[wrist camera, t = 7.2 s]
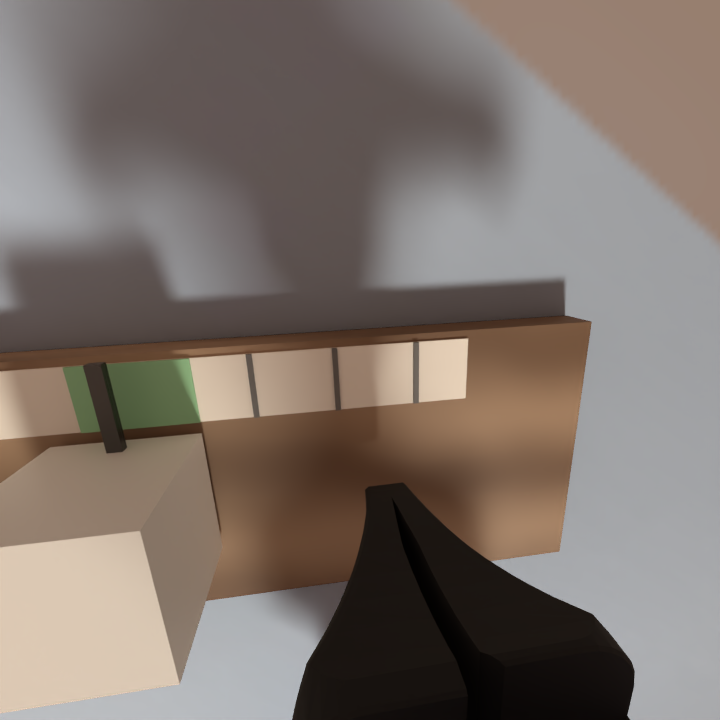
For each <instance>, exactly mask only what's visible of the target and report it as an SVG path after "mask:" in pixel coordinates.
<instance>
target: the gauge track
mask: <svg viewBox="0 0 720 720" xmlns="http://www.w3.org/2000/svg"><path fill="white" fill-rule="evenodd" d="M590 329H591V321H586V320H582V319H578V318H574V317H570V316H552V317H537V318H522V319H507V320H492V321H476V322H461V323H446V324H431V325H416V326H401V327H386V328H370V329H355V330H340V331H325V332H310V333H295V334H280V335H264V336H249V337H234V338H219V339H204V340H189V341H173V342H158V343H143V344H128V345H113V346H98V347H83V348H67V349H52V350H37V351H22V352H7V353H0V483H1V482H3V481H4V480H6V479H7V478H8V477H10V476H11V475H12V474H14V473H15V472H17V471H18V470H19V469H21V468H22V467H23V466H25V465H26V464H28V463H29V462H30V461H32V460H33V459H34V458H36V457H37V456H39V455H40V454H41V453H43V452H44V451H45V450H47V449H48V448H50V447H58V446H69V445H80V444H91V443H102V442H103V439H102V435H101V432H100V428H99V424H98V420H97V417H96V413H95V409H94V406H93V402H92V398H91V395H90V391H89V387H88V383H87V380H86V376H85V372H84V369H83V365H86V364H88V363H96V362H106V365H107V369H108V373H109V377H110V381H111V385H112V389H113V393H114V397H115V401H116V405H117V409H118V413H119V417H120V421H121V425H122V429H123V433H124V437H125V440H134V439H145V438H156V437H166V436H177V435H188V434H199V433H202V438H203V443H204V449H205V454H206V460H207V465H208V471H209V476H210V482H211V487H212V492H213V498H214V503H215V509H216V514H217V520H218V525H219V531H220V536H221V542H222V550H221V554H220V557H219V560H218V563H217V566H216V570H215V573H214V576H213V579H212V582H211V586H210V589H209V592H208V595H207V598H206V601H208V600H215V599H222V598H229V597H236V596H244V595H251V594H258V593H265V592H272V591H279V590H286V589H294V588H301V587H308V586H315V585H322V584H329V583H337V582H344V581H349V579H350V576H351V574H352V571H353V568H354V565H355V561H356V558H357V555H358V551H359V547H360V543H361V539H362V535H363V530H364V523H365V517H366V498H365V489H366V488H367V487H369V486H377V485H385V484H393V483H401V482H403V483H404V484H406V485H407V487H408V488H409V489H410V490H411V491H412V492H413V493H414V495H415V496H416V497H417V498H418V499H419V500H420V501H421V502H422V503H423V504H424V505H425V506H426V508H427V509H428V510H429V511H430V512H431V513H432V514H433V515H435V516H436V517H437V518H438V519H439V520H440V521H441V522H442V523H443V524H444V525H445V526H446V527H447V528H448V529H449V530H450V531H452V532H453V533H454V534H455V535H456V536H457V537H459V538H460V539H461V540H462V541H463V542H465V543H466V544H467V545H468V546H470V547H471V548H472V549H474V550H475V551H476V552H478V553H479V554H481V555H482V556H483V557H485V558H486V559H488V560H489V561H494V560H501V559H508V558H515V557H522V556H530V555H537V554H544V553H551V552H558V551H559V550H560V543H561V536H562V529H563V521H564V514H565V507H566V500H567V493H568V486H569V479H570V472H571V464H572V457H573V450H574V443H575V436H576V429H577V422H578V415H579V407H580V400H581V393H582V386H583V379H584V372H585V365H586V358H587V351H588V343H589V336H590Z"/></svg>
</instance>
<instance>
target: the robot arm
mask: <svg viewBox="0 0 720 720" xmlns="http://www.w3.org/2000/svg"><path fill="white" fill-rule="evenodd" d="M365 498H366V517H365V523H364V530H363V535H362V539H361V543H360V547H359V551H358V555H357V558H356V561H355V565H354V568H353V571H352V574H351V576H350V579H349V582H348V584H347V587H346V589H345V592H344V594H343V597H342V599H341V601H340V603H339V606H338V608H337V610H336V612H335V614H334V616H333V618H332V620H331V622H330V624H329V626H328V628H327V630H326V632H325V633H324V635H323V637H322V639H321V640H320V642H319V644H318V645H317V647H316V649H315V650H314V652H313V654H312V655H311V657H310V659H309V660H308V662H307V664H306V668H305V671H304V675H303V678H302V682H301V685H300V689H299V693H298V696H297V700H296V705H295V709H294V714H293V719H292V720H630V719H629V718H628V716H627V714H628V710H629V705H630V701H631V697H632V692H633V688H634V673H635V671H634V668H633V665H632V662H631V660H630V659H629V658H628V656H627V655H626V654H625V653H624V651H623V650H622V649H621V647H620V646H619V645H618V644H617V642H616V641H615V640H614V638H613V637H612V636H611V635H610V633H609V632H608V631H607V630H606V629H605V628H604V627H603V625H602V624H601V623H600V622H599V621H598V620H597V619H596V618H595V616H594V615H593V614H591V613H589V612H586V611H584V610H582V609H580V608H577V607H575V606H573V605H570V604H568V603H566V602H564V601H561V600H559V599H557V598H554V597H552V596H550V595H548V594H546V593H544V592H543V591H541V590H539V589H537V588H535V587H533V586H531V585H529V584H527V583H525V582H524V581H522V580H520V579H518V578H516V577H515V576H513V575H511V574H510V573H508V572H506V571H505V570H503V569H502V568H500V567H498V566H497V565H495V564H494V563H492V562H491V561H489V560H488V559H486V558H485V557H483V556H482V555H481V554H479V553H478V552H476V551H475V550H474V549H472V548H471V547H470V546H468V545H467V544H466V543H465V542H463V541H462V540H461V539H460V538H459V537H457V536H456V535H455V534H454V533H453V532H452V531H450V530H449V529H448V528H447V527H446V526H445V525H444V524H443V523H442V522H441V521H440V520H439V519H438V518H437V517H436V516H435V515H433V514H432V513H431V512H430V511H429V510H428V509H427V508H426V506H425V505H424V504H423V503H422V502H421V501H420V500H419V499H418V498H417V497H416V496H415V495H414V493H413V492H412V491H411V490H410V489H409V488H408V487H407V485H406V484H404V483H403V482H401V483H393V484H385V485H377V486H369V487H367V488H366V489H365Z"/></svg>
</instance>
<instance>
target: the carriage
mask: <svg viewBox="0 0 720 720" xmlns="http://www.w3.org/2000/svg"><path fill="white" fill-rule="evenodd" d="M83 369H84V372H85V376H86V380H87V383H88V387H89V391H90V395H91V398H92V402H93V406H94V409H95V413H96V417H97V420H98V424H99V428H100V432H101V435H102V439H103V442H102V443H91V444H80V445H69V446H58V447H50V448H48V449H47V450H45V451H44V452H43V453H41V454H40V455H39V456H37V457H36V458H34V459H33V460H32V461H30V462H29V463H28V464H26V465H25V466H23V467H22V468H21V469H19V470H18V471H17V472H15V473H14V474H12V475H11V476H10V477H8V478H7V479H6V480H4V481H3V482H1V483H0V713H5V712H11V711H17V710H24V709H30V708H36V707H42V706H48V705H54V704H61V703H67V702H73V701H79V700H85V699H91V698H98V697H104V696H110V695H116V694H122V693H128V692H135V691H141V690H147V689H153V688H159V687H165V686H172V685H178V684H180V682H181V678H182V675H183V672H184V669H185V666H186V662H187V659H188V656H189V653H190V650H191V646H192V643H193V640H194V637H195V634H196V630H197V627H198V624H199V621H200V618H201V614H202V611H203V608H204V605H205V602H206V598H207V595H208V592H209V589H210V586H211V582H212V579H213V576H214V573H215V570H216V566H217V563H218V560H219V557H220V554H221V550H222V542H221V536H220V531H219V525H218V520H217V514H216V509H215V503H214V498H213V492H212V487H211V482H210V476H209V471H208V465H207V460H206V454H205V449H204V443H203V438H202V433H199V434H188V435H177V436H166V437H156V438H145V439H134V440H125V437H124V433H123V429H122V425H121V421H120V417H119V413H118V409H117V405H116V401H115V397H114V393H113V389H112V385H111V381H110V377H109V373H108V369H107V365H106V362H96V363H88V364H86V365H83Z"/></svg>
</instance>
